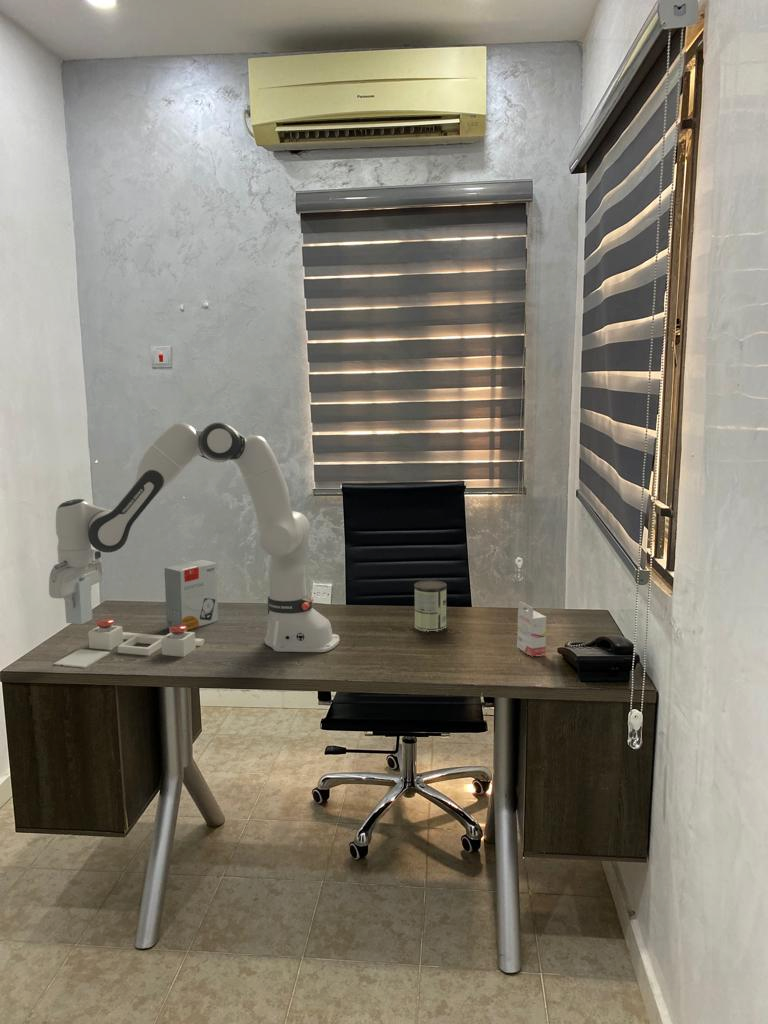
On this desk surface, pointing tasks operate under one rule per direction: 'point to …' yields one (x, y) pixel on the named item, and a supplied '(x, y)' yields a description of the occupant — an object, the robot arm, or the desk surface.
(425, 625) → the coffee can
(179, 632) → the plunger
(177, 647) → the tower
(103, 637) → the tower
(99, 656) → the pad
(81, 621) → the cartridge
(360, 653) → the desk surface
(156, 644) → the socket
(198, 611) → the hard drive box
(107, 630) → the plunger
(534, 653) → the ink cartridge box
